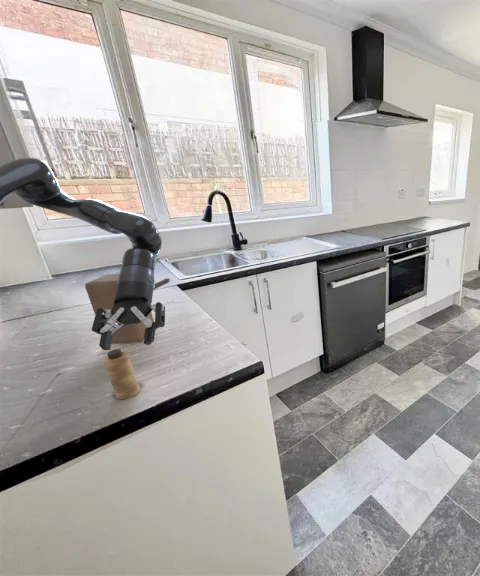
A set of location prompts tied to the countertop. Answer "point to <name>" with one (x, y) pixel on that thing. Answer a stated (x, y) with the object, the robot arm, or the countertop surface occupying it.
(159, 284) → the kitchen knife
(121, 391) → the pepper mill
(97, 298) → the block
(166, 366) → the countertop surface
